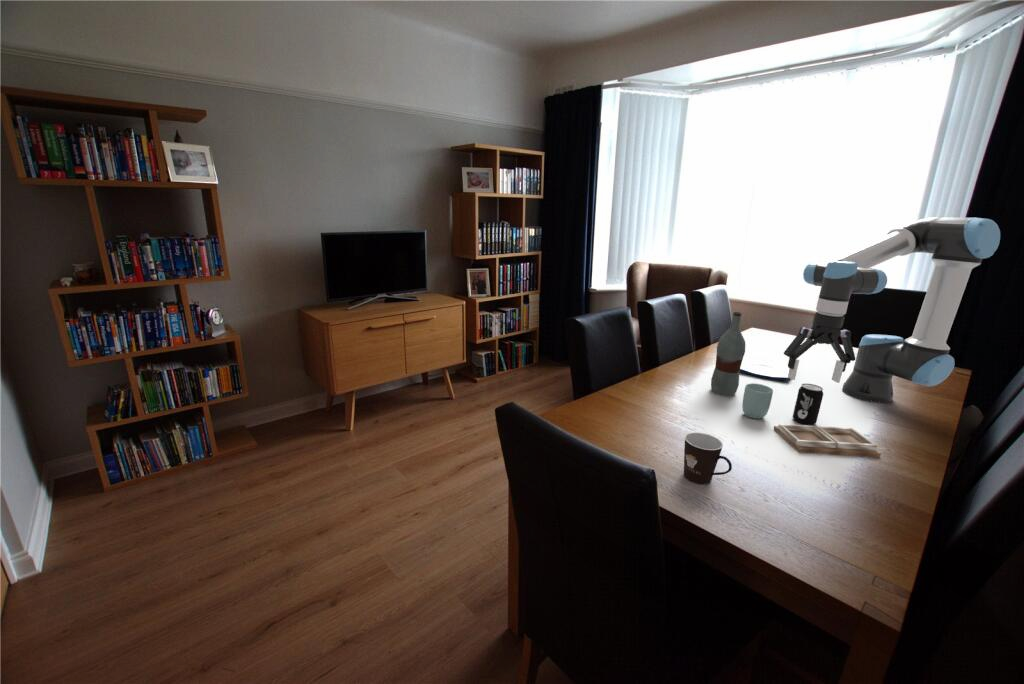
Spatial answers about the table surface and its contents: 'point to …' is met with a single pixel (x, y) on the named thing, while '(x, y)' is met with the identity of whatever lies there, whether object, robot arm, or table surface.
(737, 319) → the bottle
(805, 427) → the divided tray
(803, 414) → the beverage can
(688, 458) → the coffee mug
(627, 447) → the table surface
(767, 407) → the cup
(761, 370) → the plate
